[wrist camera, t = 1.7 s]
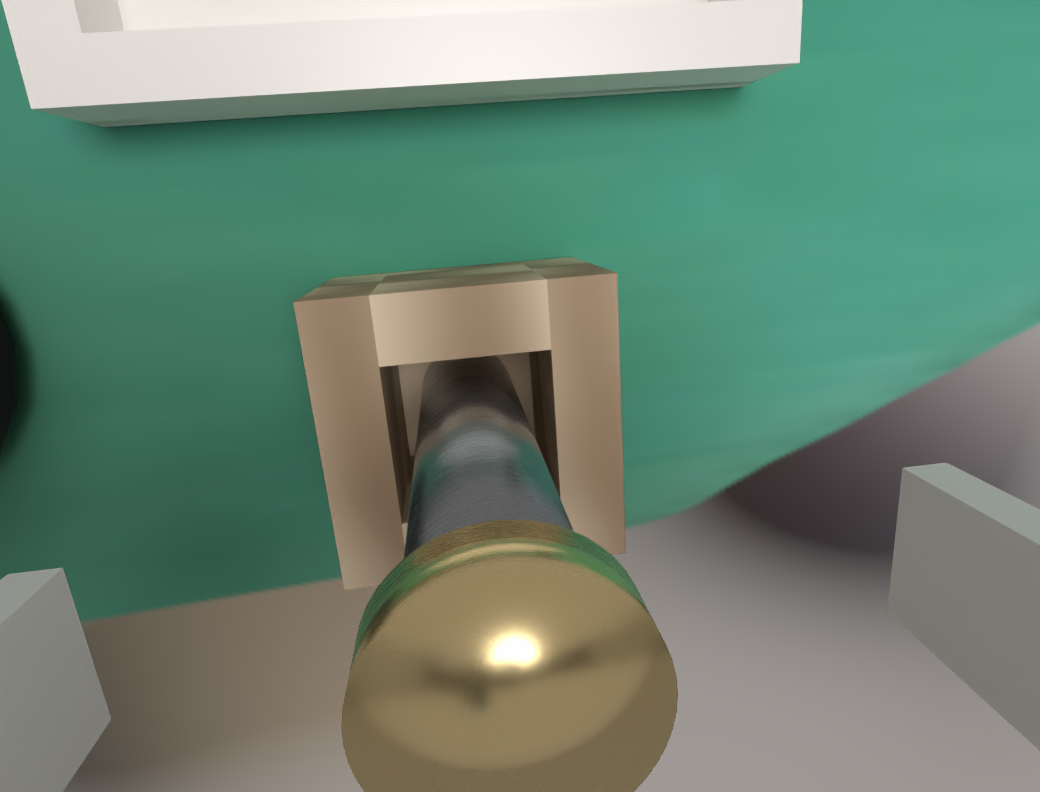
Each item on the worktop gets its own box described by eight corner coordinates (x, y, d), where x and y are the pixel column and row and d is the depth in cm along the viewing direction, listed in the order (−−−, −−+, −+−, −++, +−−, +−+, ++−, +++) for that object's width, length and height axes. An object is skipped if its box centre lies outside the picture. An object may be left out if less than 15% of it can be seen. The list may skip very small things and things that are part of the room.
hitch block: (368, 496, 23) (344, 590, 18) (333, 277, 21) (292, 302, 15) (581, 471, 24) (625, 553, 18) (570, 256, 22) (617, 272, 16)
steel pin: (415, 449, 22) (368, 872, 8) (400, 336, 21) (313, 595, 7) (529, 437, 22) (678, 819, 8) (520, 325, 21) (677, 548, 7)
